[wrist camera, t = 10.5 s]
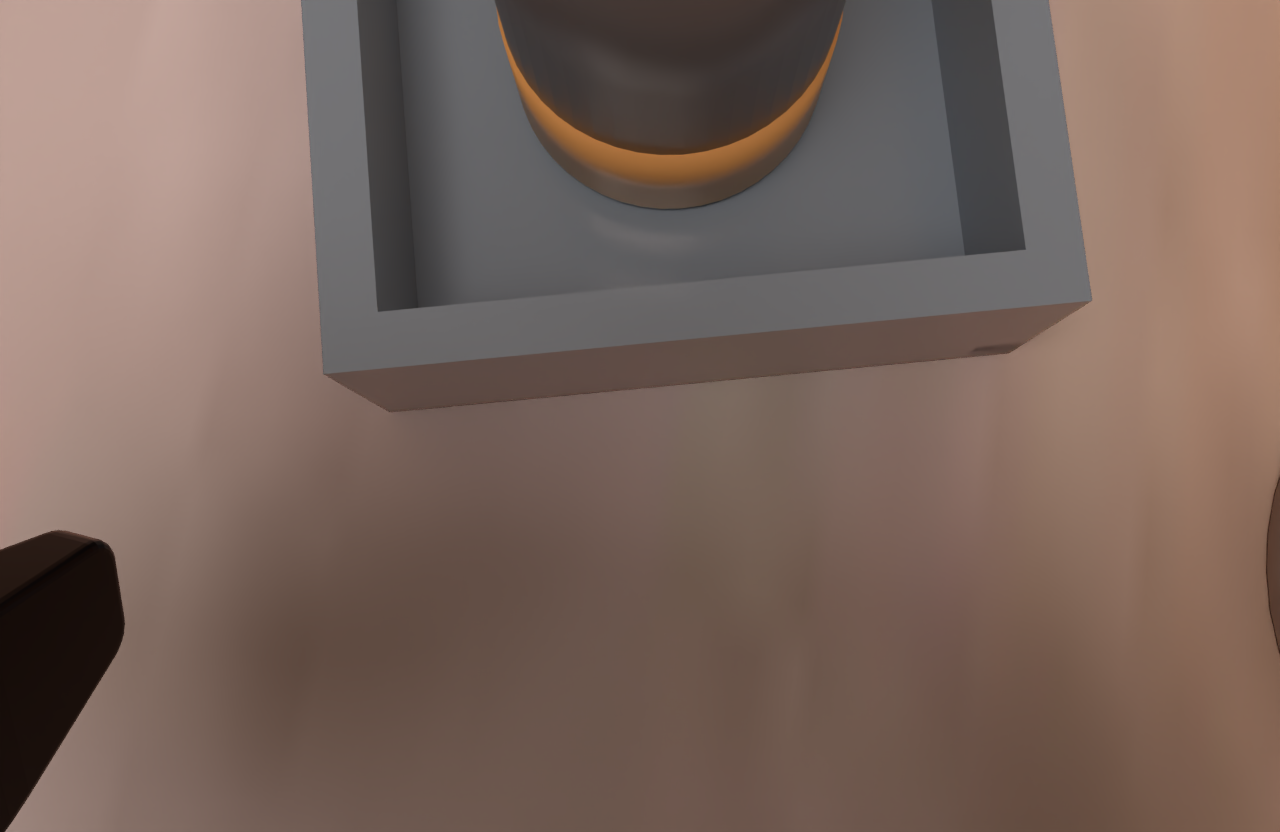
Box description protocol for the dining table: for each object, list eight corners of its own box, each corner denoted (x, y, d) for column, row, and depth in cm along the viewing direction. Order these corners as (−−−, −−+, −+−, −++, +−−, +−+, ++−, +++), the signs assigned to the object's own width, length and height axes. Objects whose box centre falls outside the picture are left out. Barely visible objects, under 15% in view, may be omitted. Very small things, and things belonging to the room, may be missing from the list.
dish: (389, 412, 20) (323, 374, 16) (351, -162, 22) (281, -325, 18) (1009, 353, 20) (1092, 300, 16) (931, -220, 22) (991, -396, 18)
